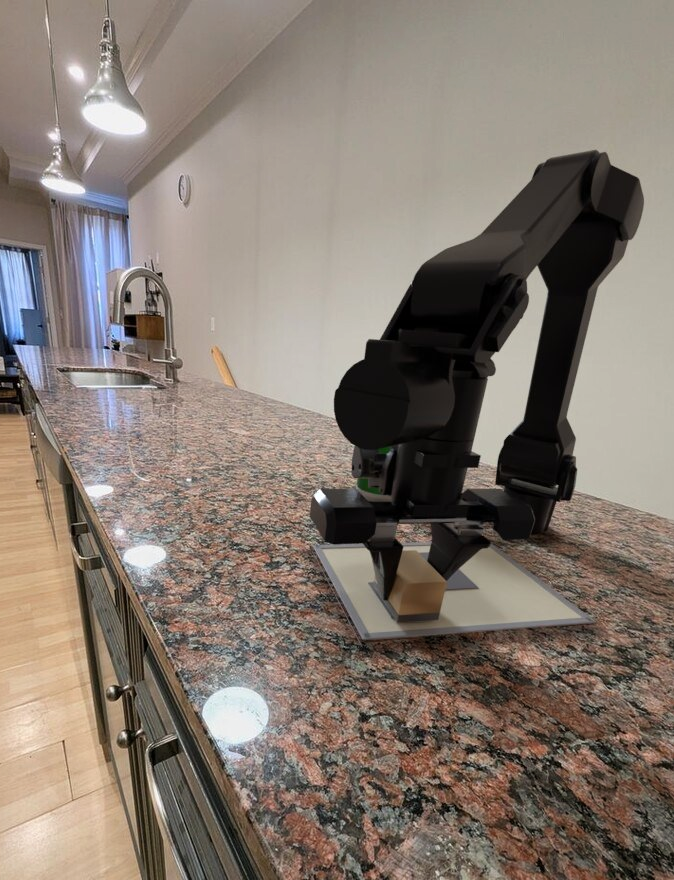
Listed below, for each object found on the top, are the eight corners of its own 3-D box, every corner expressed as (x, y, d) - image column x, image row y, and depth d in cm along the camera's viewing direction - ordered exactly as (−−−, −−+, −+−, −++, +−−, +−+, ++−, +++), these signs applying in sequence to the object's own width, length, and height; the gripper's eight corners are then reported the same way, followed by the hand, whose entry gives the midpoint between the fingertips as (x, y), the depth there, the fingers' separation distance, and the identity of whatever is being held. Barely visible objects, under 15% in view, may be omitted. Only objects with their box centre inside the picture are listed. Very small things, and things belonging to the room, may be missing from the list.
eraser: (409, 584, 45) (416, 549, 44) (438, 620, 40) (447, 581, 38) (372, 586, 45) (378, 550, 43) (397, 623, 39) (404, 583, 38)
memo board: (485, 546, 58) (487, 540, 58) (593, 629, 42) (597, 621, 42) (312, 551, 53) (312, 545, 53) (361, 647, 38) (363, 639, 37)
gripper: (481, 418, 45) (450, 554, 51) (303, 411, 42) (291, 559, 47) (563, 445, 35) (512, 610, 41) (338, 440, 32) (317, 623, 37)
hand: (404, 597), depth 42 cm, fingers closed on eraser, 4 cm apart
